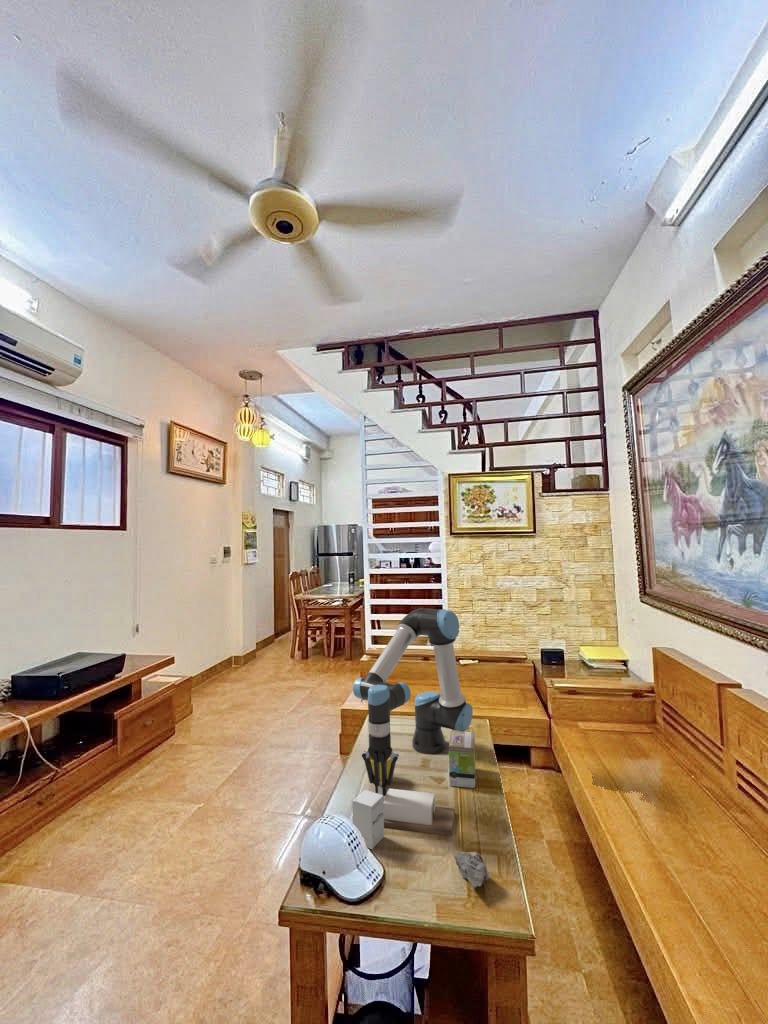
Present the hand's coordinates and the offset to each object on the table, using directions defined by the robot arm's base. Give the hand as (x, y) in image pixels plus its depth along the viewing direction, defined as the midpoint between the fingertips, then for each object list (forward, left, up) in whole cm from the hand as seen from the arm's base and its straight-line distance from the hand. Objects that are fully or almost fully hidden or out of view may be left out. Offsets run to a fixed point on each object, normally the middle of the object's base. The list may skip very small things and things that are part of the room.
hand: (381, 804), depth 149 cm
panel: (0, +10, -2) cm, 10 cm away
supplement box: (+13, -1, -4) cm, 14 cm away
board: (0, +12, -3) cm, 13 cm away
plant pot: (-21, -6, -4) cm, 22 cm away
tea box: (-30, +25, -4) cm, 39 cm away
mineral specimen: (+24, +32, -4) cm, 40 cm away
